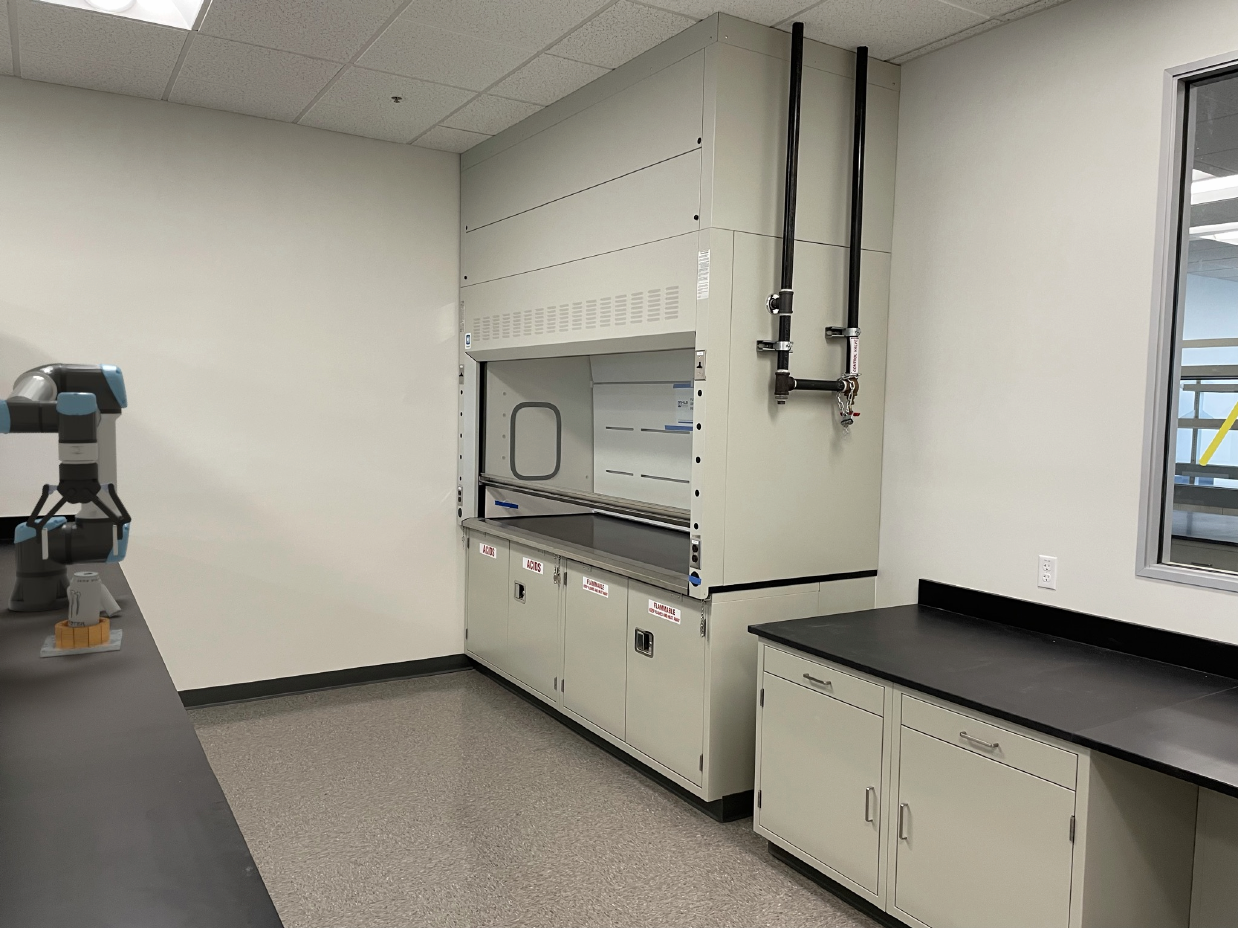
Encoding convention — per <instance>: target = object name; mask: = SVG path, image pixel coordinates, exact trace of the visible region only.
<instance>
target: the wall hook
mask: <svg viewBox="0 0 1238 928" xmlns="http://www.w3.org/2000/svg"><path fill="white" fill-rule="evenodd" d="M67 595H68V599H69V597H70V586H69V587H68V588H67ZM103 611H105V612H106V614H107V615H108V617H110V618H111V617H114V616H116V615H118V614H119V613H121V611H122V609H121V607H120V606H119V605H118V603H117V602H116V600H115V598H114V597H113V596H112V594H111V593H110V591H109V589H108V588H107V587H106V584H104V583H102V581H101V595H100V612H103Z"/></svg>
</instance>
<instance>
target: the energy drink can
mask: <svg viewBox="0 0 1238 928" xmlns="http://www.w3.org/2000/svg"><path fill="white" fill-rule="evenodd" d="M99 575H100V574H99V572H96V571H77V572H74V573H73V576H72V578H71V579H70V597H69V606H68V619H67V620H68V627H82V626H90V625H95V624H99V617H100V612H101V611H100V595H101V582H102V580H101V578H100V576H99Z"/></svg>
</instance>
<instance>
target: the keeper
mask: <svg viewBox="0 0 1238 928" xmlns="http://www.w3.org/2000/svg"><path fill="white" fill-rule="evenodd" d="M54 633H55V634H52V635H47V636H46V638H45V640H44V642H43V645H42V646H41V649H40V652H39V658H49V657H59V656H69V655H70V656H71V655H79V654H80V655H81V654H82V655H83V654H91V653H101V652H102V653H103V652H110V651H120V650H121V646H122V645H121V644H122V639H123V629H122V628H120V629H110V618H107V617H102V616H99V624H95V625H90V626H82V627H68V619H66V620H62V621H60V622H57V623H55V625H54Z"/></svg>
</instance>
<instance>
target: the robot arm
mask: <svg viewBox="0 0 1238 928" xmlns="http://www.w3.org/2000/svg"><path fill="white" fill-rule="evenodd" d="M125 385H126V384H125V381H124V374H123V372H122V369H121V368H120V367H119V366H117V365H114V364H113V365H112V364H103V363H100V364H99V363H97V364H96V363H63V362H62V363H61V362H58V363H57V362H56V363H49V364H43V365H39V366H36V367H33V368H31V369H28V370H26V371H25V372H23V373H21V374H20V375H19V376H18V377H17V378H16V379H15V381H14V382H13V385H12V392H10V394H9V395H8V396H7V398H6V399H4V398H3V399H2V398H0V434H4V435H7V434H58V436H57V438H58V441H57V446H58V453H57V454H58V460H59V461H60V463H59V464H58V480H59V481H58V484H57V485H56V484H55V485H53V484H49V483H45V484H44V485H43V486H42V488H41V489H42V490H41V495H40V497H39V499H38V501H37V503H36V504H35V506H34V508H33V510H32V512H31V513H30V515H29V516H28V518H27V521H25V522H22V523H20V524H18V525H17V526H16V527H15V530H14V541H13V544H14V557H15V559H14V560H15V580H14V584H13V586H12V587H13V588H12V590H11V593H10V596H9V598H8V609H9V610H10V611H15V612H41V611H42V612H43V611H52V610H59V609H62V608H67V607H68V608H69V599H68V595H67V588H68V587H69V586H70V581H71V579H70V578H69V576H68V566H78V565H95V564H96V565H97V564H104V565H107V564H113V563H120V562H122V561H124V560H125V558H126V556H127V551H128V544H129V537H130V526H131V522H132V516H131V515H130V513H129V511H128V509H126V507H125V505H124V504H123V503H124V502H122V500H121V499H120V497H119V495H118V473H117V472H118V471H117V470H118V469H117V467H118V466H117V462H118V461H117V433H116V431H117V429H116V428H117V427H116V422H117V420H118V419H119V418H120V417H121V416H122V415H123V414H122V412H123V409H126V408H128V405H129V404H128V398H127V391H126V386H125ZM55 491H57V492H58V494H59V495H60V496H61V498H60V499H59V500H58V501H57V502H56V504H55V505H54V506H53V507H52V508H51V509H50V510H49V511H48V512H47V513H46V514H45V515H44V516H43V517H42V518H38V517H39V515H40V513H41V511H42V509H43V507H44V505H45V504H46V501H47V500H48V498H49V496H50V495H53V493H54V492H55ZM66 503H68V504H71V505H77V504H80V505H81V506H80V507H81V508H80V510H79V511H78V512H77V513H76V514H74V519H75V521H69V522H68V519H66V517H65V516H55V515H56V514H57V513H58V511H59V510H61V508H62V507H63V506H64V505H65V504H66Z"/></svg>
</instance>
